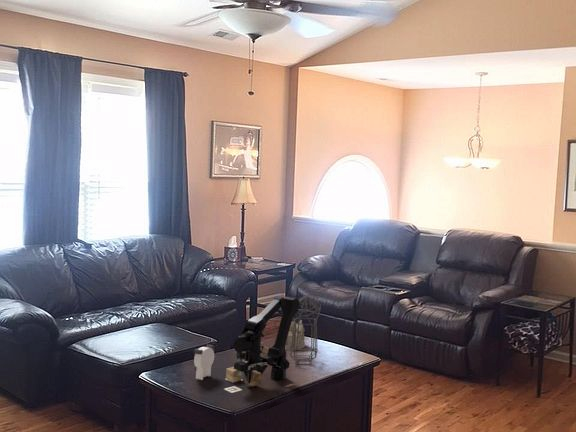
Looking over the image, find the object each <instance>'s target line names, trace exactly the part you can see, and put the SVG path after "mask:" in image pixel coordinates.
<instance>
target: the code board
mask: <svg viewBox="0 0 576 432" xmlns="http://www.w3.org/2000/svg"><path fill="white" fill-rule="evenodd" d="M225 380H226V381H228V382H231V383H236V382H239V381H243V379H242V378H241V380H238V381H235V382H232V381H229V380H227V379H226V378H225ZM224 390H225V391H227V392H228V393H232V394H233V393H237V392H240V391H243V389H241V388H240V387H238V386H236V385H233V386H230V387H226V388H224Z"/></svg>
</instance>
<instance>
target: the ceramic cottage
mask: <svg viewBox="0 0 576 432" xmlns="http://www.w3.org/2000/svg"><path fill="white" fill-rule="evenodd" d="M296 323H297V324H296V341H295V339H294V335H293V326H294V323H293V321H291V325H290V329H289V333H288V337H287V340H286V344H285V350H286V351H291V343H292V335H293V339H294V341H295V349H296V343H297V332H298V322H296ZM301 324H303V320H302V319H300V321H299V332H298V344H297V349H305V348H306V343H305V327H304V325H301ZM294 330H295V326H294ZM292 348H293V344H292ZM293 349H294V348H293Z"/></svg>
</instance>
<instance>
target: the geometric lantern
mask: <svg viewBox="0 0 576 432" xmlns="http://www.w3.org/2000/svg"><path fill="white" fill-rule="evenodd" d="M297 299H298V300H299V302H300V306H299V308H300V307H301V308H300V309H298V311H297V313H296V314H295V318H294V317H293V318H292V322H293V323H294V326H295V330H294V326H293V335H294V339H295V341H296V324H297V323H298V332H299V322H300V320H302V319H303V320H308V322H309V323H302V324H301V325H303V326H304V325H305V326H311V328H310V329H311V332H310V334H311V335H310V336H311V337H310V338H311V341H310V343H311V346H310V347H311V349H307V348H306V349H305V348H301V349H297V344H298V332H297V343H296V349H295V341H294V339H293V335H292V343H291V350H290V355H289V356H290V358H292V359H293V360H294V365H299V366H300V365H303V366H304V365H305V366H310V365H312V362H313V360H315V359H317V355H318V322H317V321H318V318H319V316H320V314H321V309H322V303H320V302H319V301H316V300H315V299H314V298H311V297H310V296H308V295H303V296H301V297H300V298H297ZM308 302H309V303H308ZM308 305H309V308H308ZM312 306H313V307H312ZM313 309H315V310H313ZM303 313H305V315H302V314H303ZM307 313H308V314H307ZM316 313H317V315H316V317H315V315H314V314H316ZM297 315H299V316H297ZM309 316H313V317H314V318H313V324H312V322H311V320H312V318H311V317H310V318H309ZM292 344H293V348H294V349H293V348H292ZM298 351H309V352H310V355H308V357H307V355H302V354H301V355H300V354H298ZM313 352H314V353H313ZM292 354H293V355H292ZM313 356H314V357H313ZM303 361H305V362H309V363H299V362H303Z"/></svg>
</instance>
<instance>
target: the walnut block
mask: <svg viewBox="0 0 576 432" xmlns="http://www.w3.org/2000/svg"><path fill="white" fill-rule="evenodd" d="M245 385H249V386H251V387H255V386H258V385H259V386H260V385H262V376H261V373H260V372H258V371H257V370H253V369H252V375H251V380H250V383H247V380H246V379H245Z"/></svg>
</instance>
